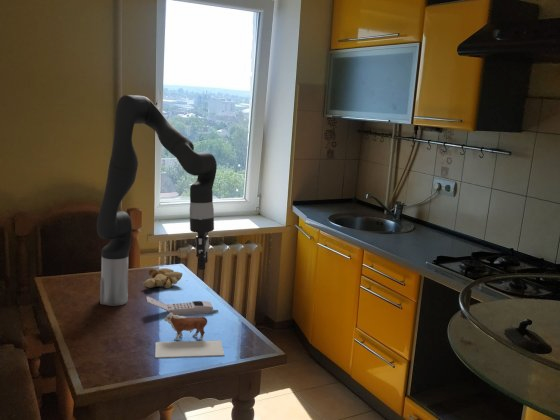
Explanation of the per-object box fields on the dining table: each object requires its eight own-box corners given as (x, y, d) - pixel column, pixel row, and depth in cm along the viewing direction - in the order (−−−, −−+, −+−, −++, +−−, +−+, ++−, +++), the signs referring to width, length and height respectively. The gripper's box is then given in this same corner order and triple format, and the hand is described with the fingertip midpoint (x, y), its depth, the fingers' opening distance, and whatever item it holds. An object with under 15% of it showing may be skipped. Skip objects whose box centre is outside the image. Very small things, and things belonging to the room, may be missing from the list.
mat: (155, 358, 155) (155, 357, 155) (155, 343, 164) (155, 342, 164) (224, 355, 159) (224, 354, 159) (220, 341, 169) (220, 340, 169)
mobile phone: (145, 295, 188) (215, 292, 196) (145, 311, 189) (215, 307, 197) (147, 302, 182) (219, 298, 190) (146, 318, 184) (218, 313, 191)
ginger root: (180, 274, 227) (180, 258, 224) (183, 295, 214) (183, 278, 210) (142, 276, 223) (142, 259, 220) (143, 298, 210) (142, 280, 206)
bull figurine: (164, 334, 171) (164, 310, 169) (206, 336, 172) (207, 312, 170) (162, 340, 166) (163, 315, 165) (206, 341, 168) (207, 317, 166)
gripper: (192, 212, 176) (193, 260, 179) (187, 219, 162) (188, 272, 165) (215, 212, 177) (216, 260, 179) (212, 219, 163) (213, 271, 165)
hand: (202, 266), depth 172 cm, fingers open, 8 cm apart
